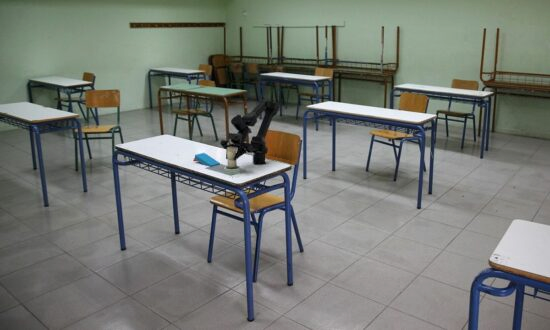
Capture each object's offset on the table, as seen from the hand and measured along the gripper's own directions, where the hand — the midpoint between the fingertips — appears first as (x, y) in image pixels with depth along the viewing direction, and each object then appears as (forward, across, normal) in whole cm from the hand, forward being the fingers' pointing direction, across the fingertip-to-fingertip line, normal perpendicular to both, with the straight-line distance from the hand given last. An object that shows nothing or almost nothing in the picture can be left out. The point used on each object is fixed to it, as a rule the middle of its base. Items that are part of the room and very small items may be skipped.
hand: (230, 159), depth 253 cm
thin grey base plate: (+4, -6, +8) cm, 11 cm away
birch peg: (+3, 0, +5) cm, 6 cm away
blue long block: (0, -25, +13) cm, 28 cm away
